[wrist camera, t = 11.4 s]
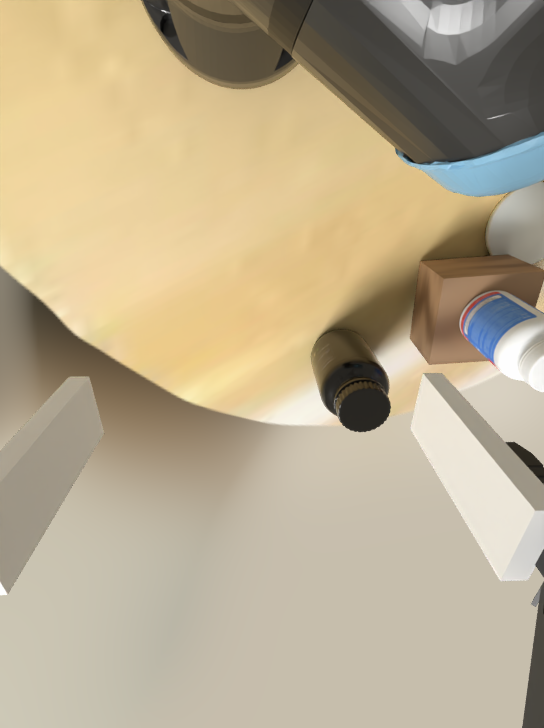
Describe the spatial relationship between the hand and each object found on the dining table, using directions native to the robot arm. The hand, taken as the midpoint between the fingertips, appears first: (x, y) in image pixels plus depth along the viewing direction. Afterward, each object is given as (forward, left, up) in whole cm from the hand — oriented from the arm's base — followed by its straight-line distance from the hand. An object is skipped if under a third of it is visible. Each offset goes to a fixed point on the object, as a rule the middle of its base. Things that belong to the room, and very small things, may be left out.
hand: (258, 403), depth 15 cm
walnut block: (+2, +22, -26) cm, 34 cm away
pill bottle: (+2, +22, -20) cm, 30 cm away
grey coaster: (-6, +27, -26) cm, 38 cm away
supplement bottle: (+10, +10, -26) cm, 30 cm away
